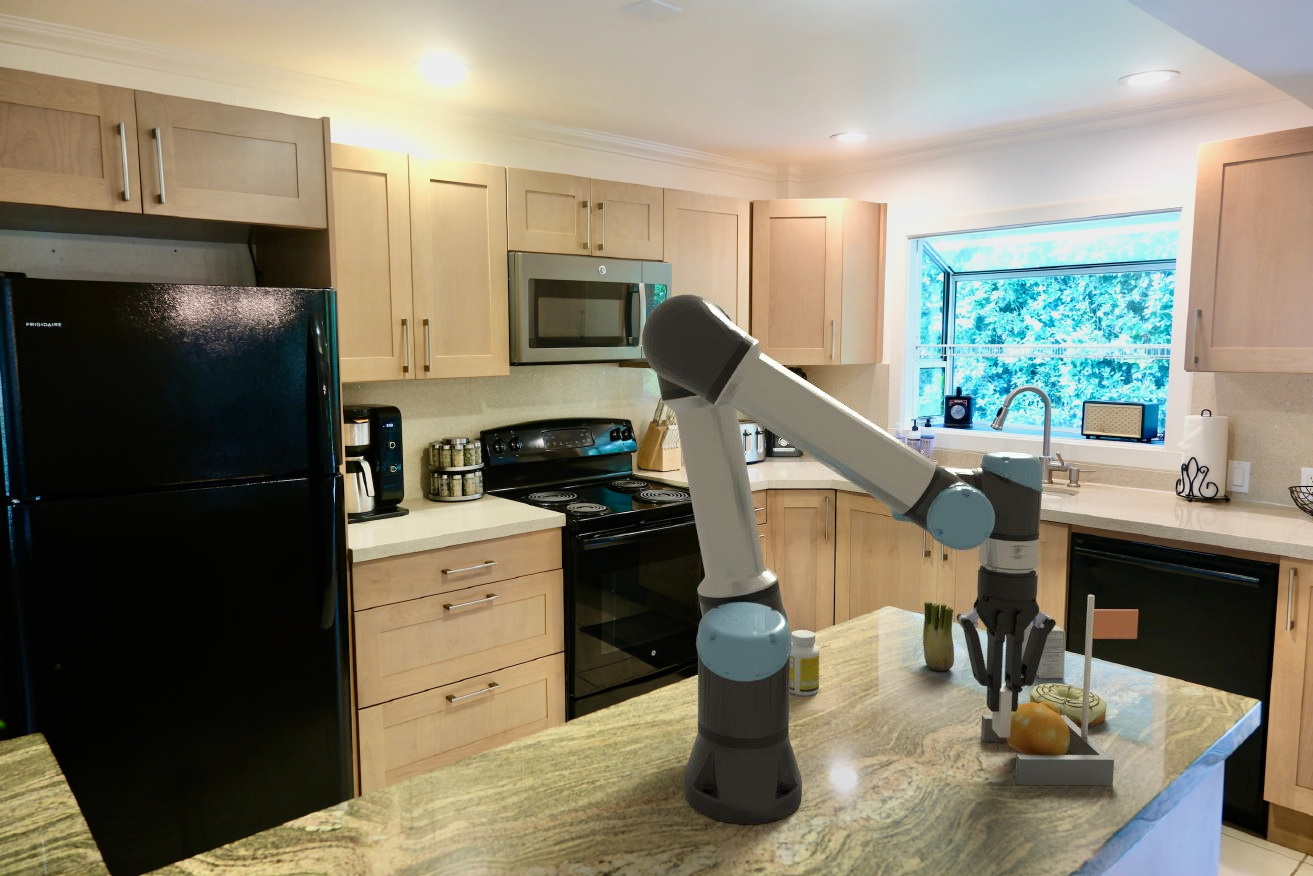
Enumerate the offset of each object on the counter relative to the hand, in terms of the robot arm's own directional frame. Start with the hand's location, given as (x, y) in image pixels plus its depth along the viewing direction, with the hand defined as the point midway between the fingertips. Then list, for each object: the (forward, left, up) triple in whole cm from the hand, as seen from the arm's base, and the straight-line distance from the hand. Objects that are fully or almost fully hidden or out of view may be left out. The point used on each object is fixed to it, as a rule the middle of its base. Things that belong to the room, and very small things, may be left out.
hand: (1000, 732), depth 115 cm
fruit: (+5, 0, -4) cm, 6 cm away
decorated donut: (+16, +15, -4) cm, 23 cm away
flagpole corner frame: (+9, 0, -4) cm, 10 cm away
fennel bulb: (+2, +34, -4) cm, 34 cm away
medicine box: (+20, +33, -4) cm, 39 cm away
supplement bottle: (-24, +24, -4) cm, 34 cm away
